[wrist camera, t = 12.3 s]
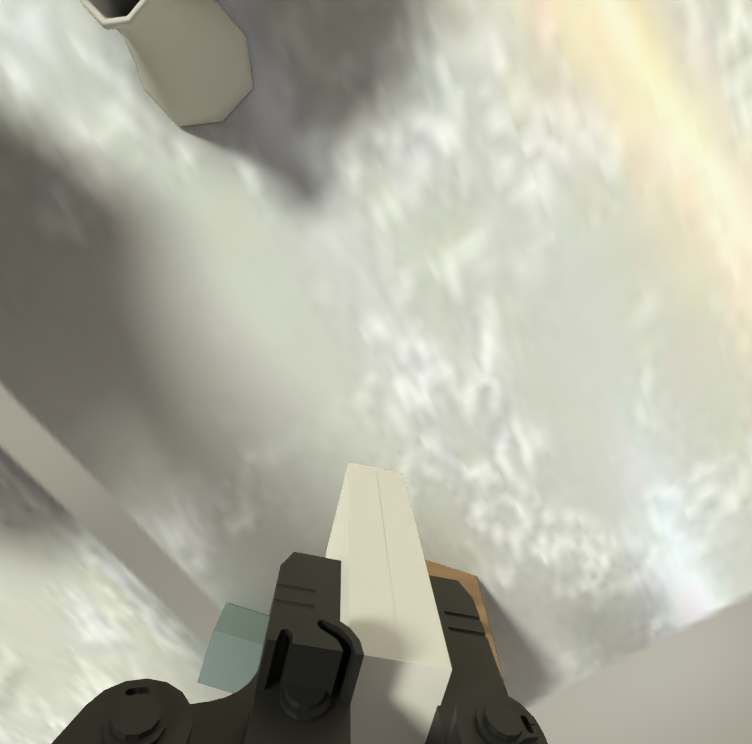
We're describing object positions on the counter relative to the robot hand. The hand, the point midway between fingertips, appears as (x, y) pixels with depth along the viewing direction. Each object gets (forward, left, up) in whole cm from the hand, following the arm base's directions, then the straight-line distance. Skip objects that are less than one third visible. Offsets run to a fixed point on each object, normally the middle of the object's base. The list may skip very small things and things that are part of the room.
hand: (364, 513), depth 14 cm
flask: (-10, +19, -23) cm, 31 cm away
